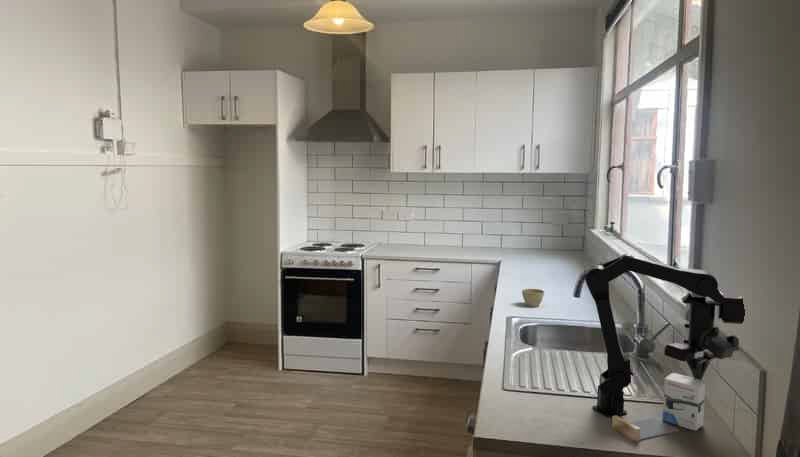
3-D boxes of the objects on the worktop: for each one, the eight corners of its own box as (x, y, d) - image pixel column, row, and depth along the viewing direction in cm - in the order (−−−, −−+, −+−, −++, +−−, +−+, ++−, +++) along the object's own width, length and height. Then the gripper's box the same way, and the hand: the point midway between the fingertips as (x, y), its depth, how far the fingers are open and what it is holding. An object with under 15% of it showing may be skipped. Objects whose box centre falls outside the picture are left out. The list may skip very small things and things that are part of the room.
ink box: (661, 421, 154) (663, 377, 152) (669, 414, 157) (671, 371, 155) (696, 431, 148) (698, 386, 146) (703, 424, 151) (705, 380, 149)
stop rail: (611, 427, 150) (612, 416, 149) (615, 426, 150) (616, 415, 150) (636, 441, 142) (636, 429, 142) (639, 440, 143) (640, 428, 142)
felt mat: (615, 426, 150) (615, 425, 150) (653, 418, 155) (654, 417, 155) (639, 440, 143) (640, 439, 143) (679, 431, 148) (679, 430, 148)
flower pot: (530, 302, 284) (531, 287, 283) (548, 306, 276) (548, 291, 275) (517, 305, 277) (517, 290, 277) (534, 309, 270) (535, 294, 269)
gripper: (702, 333, 139) (698, 398, 140) (756, 325, 146) (752, 386, 148) (664, 322, 149) (661, 382, 151) (716, 314, 156) (713, 372, 158)
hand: (698, 381), depth 151 cm, fingers closed
